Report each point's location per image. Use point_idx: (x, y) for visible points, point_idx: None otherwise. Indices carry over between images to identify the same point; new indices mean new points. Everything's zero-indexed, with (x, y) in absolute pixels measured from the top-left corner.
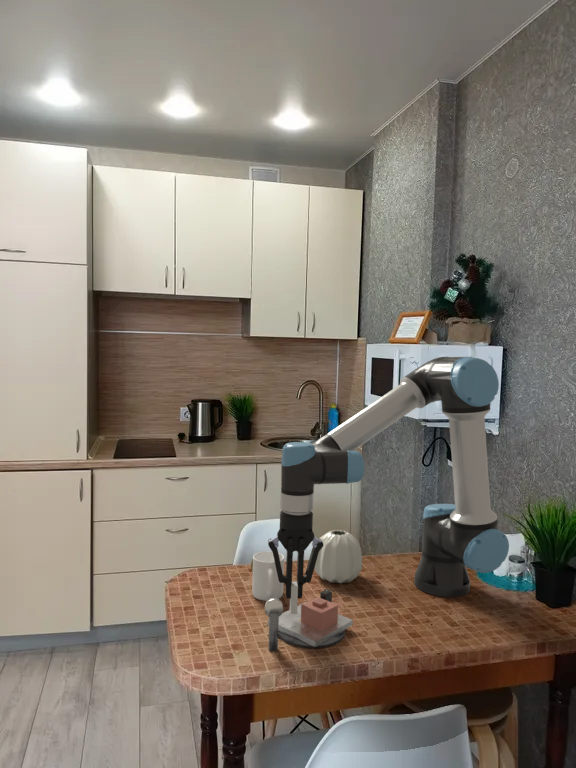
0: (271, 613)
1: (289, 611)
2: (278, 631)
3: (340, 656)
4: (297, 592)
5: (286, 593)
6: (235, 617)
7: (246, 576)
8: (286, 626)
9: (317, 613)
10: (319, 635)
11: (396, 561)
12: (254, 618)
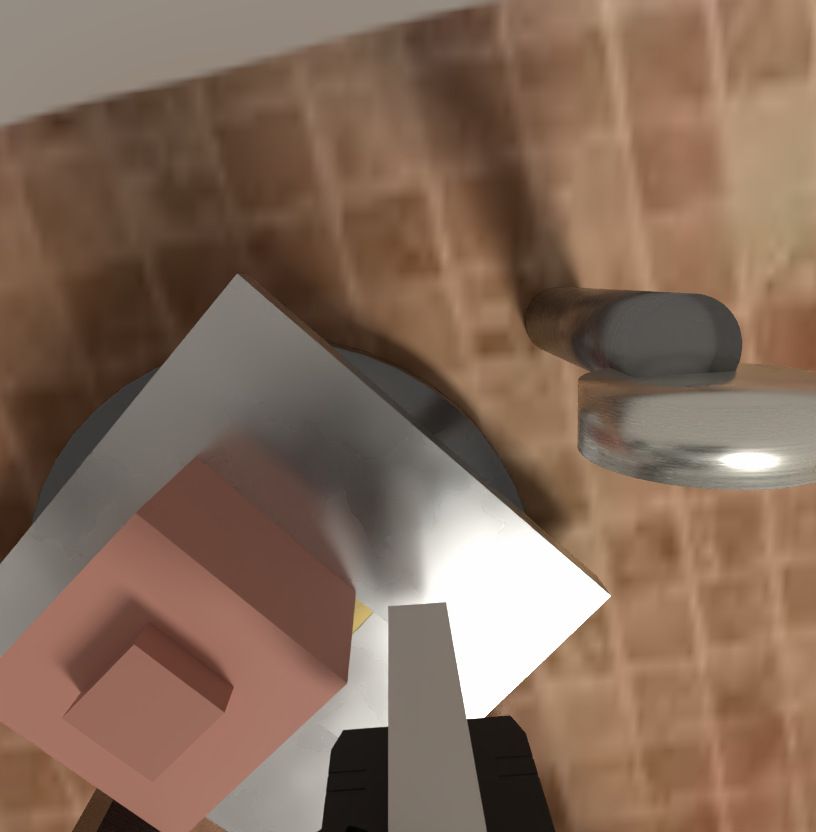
0: (720, 331)
1: None
2: (520, 509)
3: (72, 234)
4: (391, 766)
5: (527, 761)
6: (782, 715)
7: None
8: (471, 511)
9: (183, 538)
10: (206, 380)
11: None
12: (660, 711)
